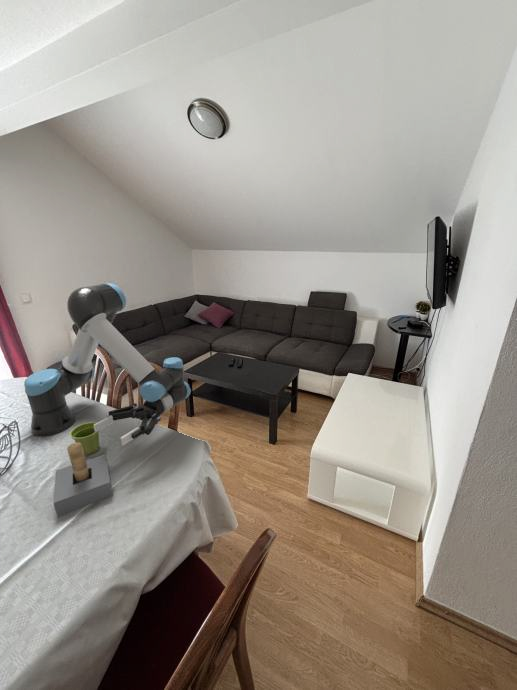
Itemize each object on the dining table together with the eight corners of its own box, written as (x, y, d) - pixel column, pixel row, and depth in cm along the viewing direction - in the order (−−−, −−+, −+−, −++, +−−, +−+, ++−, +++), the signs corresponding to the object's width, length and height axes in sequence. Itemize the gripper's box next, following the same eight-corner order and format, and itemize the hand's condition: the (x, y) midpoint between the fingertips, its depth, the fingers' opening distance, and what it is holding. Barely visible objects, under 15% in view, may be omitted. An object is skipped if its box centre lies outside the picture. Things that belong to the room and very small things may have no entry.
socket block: (59, 482, 90) (55, 470, 89) (108, 466, 97) (105, 454, 96) (57, 516, 79) (53, 502, 77) (112, 494, 86) (110, 482, 84)
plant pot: (91, 460, 100) (86, 439, 97) (68, 456, 102) (63, 436, 99) (109, 443, 109) (105, 423, 106) (88, 439, 110) (84, 420, 108)
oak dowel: (78, 484, 88) (67, 445, 83) (91, 479, 90) (81, 440, 85) (78, 492, 85) (67, 452, 81) (91, 487, 87) (81, 447, 82)
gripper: (183, 422, 105) (135, 457, 87) (137, 404, 116) (86, 432, 98) (181, 405, 103) (132, 437, 85) (134, 388, 114) (82, 414, 96)
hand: (107, 435), depth 92 cm, fingers open, 13 cm apart
